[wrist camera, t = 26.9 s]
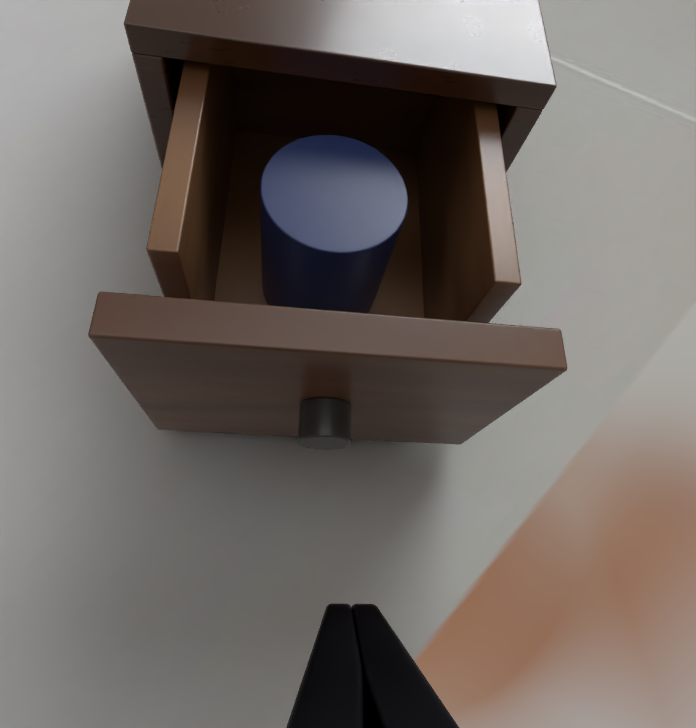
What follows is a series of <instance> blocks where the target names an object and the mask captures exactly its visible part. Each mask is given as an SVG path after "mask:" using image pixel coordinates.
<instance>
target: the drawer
mask: <svg viewBox="0 0 696 728" xmlns="http://www.w3.org/2000/svg"><path fill="white" fill-rule="evenodd" d="M314 135H337V136H343V137H348V138H352V139H355V140H358V141H361V142H363V143H365V144H367V145H369V146H371V147H373V148H375V149H376V150H378V151H379V152H381V153H382V154H383V155H384V156H386V157H387V158H388V159H389V160H390V161H391V162H392V163H393V164H394V166H395V167H396V168H397V170H398V171H399V172H400V174H401V176H402V178H403V180H404V183H405V185H406V189H407V194H408V210H407V214H406V217H405V220H404V223H403V225H402V228H401V230H400V233H399V236H398V238H397V241H396V244H395V246H394V249H393V252H392V254H391V257H390V259H389V262H388V265H387V267H386V270H385V273H384V275H383V278H382V281H381V283H380V286H379V288H378V291H377V294H376V296H375V299H374V302H373V304H372V306H371V308H370V310H369V312H368V313H357V312H345V311H333V310H320V309H308V308H296V307H283V306H271V305H268V304H267V302H266V299H265V297H264V293H263V288H262V256H261V210H260V182H261V177H262V173H263V171H264V169H265V166H266V165H267V163H268V162H269V160H270V159H271V157H272V156H273V155H274V154H275V153H276V152H277V151H278V150H280V149H281V148H282V147H284V146H285V145H287V144H289V143H291V142H293V141H295V140H298V139H301V138H304V137H309V136H314ZM146 249H147V252H148V255H149V258H150V260H151V263H152V266H153V268H154V271H155V274H156V277H157V279H158V282H159V285H160V287H161V290H162V293H163V295H164V297H161V296H149V295H136V294H124V293H112V292H99V293H98V296H97V300H96V304H95V308H94V312H93V317H92V321H91V325H90V329H89V334H88V335H89V337H90V339H91V340H92V341H93V343H94V344H95V345H96V347H97V348H98V350H99V351H100V352H101V354H102V355H103V356H104V358H105V359H106V360H107V362H108V363H109V364H110V366H111V367H112V368H113V370H114V371H115V372H116V374H117V375H118V376H119V378H120V379H121V380H122V382H123V383H124V385H125V386H126V387H127V389H128V390H129V391H130V393H131V394H132V395H133V397H134V398H135V399H136V401H137V402H138V403H139V405H140V406H141V407H142V409H143V410H144V411H145V413H146V414H147V415H148V417H149V418H150V420H151V421H152V422H153V424H154V425H155V426H156V428H157V429H162V430H182V431H202V432H223V433H243V434H263V435H283V436H298V443H299V444H300V445H302V446H305V447H308V448H314V449H339V448H343V447H347V446H349V445H350V443H351V439H364V440H384V441H404V442H424V443H444V444H462V443H463V442H465V441H466V440H467V439H469V438H470V437H472V436H473V435H475V434H476V433H477V432H479V431H480V430H482V429H483V428H485V427H486V426H487V425H489V424H490V423H492V422H493V421H495V420H496V419H497V418H499V417H500V416H502V415H503V414H505V413H506V412H507V411H509V410H510V409H512V408H513V407H515V406H516V405H518V404H519V403H520V402H522V401H523V400H525V399H526V398H528V397H529V396H530V395H532V394H533V393H535V392H536V391H538V390H539V389H540V388H542V387H543V386H545V385H546V384H548V383H549V382H550V381H552V380H553V379H555V378H556V377H558V376H559V375H561V374H562V373H563V372H565V371H566V370H567V363H566V357H565V351H564V345H563V339H562V333H561V330H560V329H553V328H541V327H529V326H516V325H504V324H492V323H489V321H490V320H491V319H492V318H493V317H494V316H495V314H496V313H497V312H498V311H499V310H500V309H501V307H502V306H503V305H504V304H505V303H506V302H507V300H508V299H509V298H510V297H511V296H512V295H513V293H514V292H515V291H516V290H517V289H518V288H519V287H520V285H521V277H520V270H519V263H518V256H517V248H516V241H515V234H514V227H513V220H512V213H511V206H510V199H509V192H508V184H507V177H506V170H505V163H504V156H503V149H502V142H501V135H500V127H499V120H498V113H497V106H496V103H489V102H482V101H474V100H467V99H460V98H453V97H446V96H439V95H431V94H424V93H417V92H410V91H403V90H395V89H388V88H381V87H374V86H367V85H360V84H352V83H345V82H338V81H331V80H324V79H316V78H309V77H302V76H295V75H288V74H281V73H273V72H266V71H259V70H252V69H245V68H237V67H230V66H223V65H216V64H209V63H202V62H194V61H187V60H184V65H183V70H182V75H181V80H180V85H179V90H178V95H177V100H176V105H175V110H174V115H173V120H172V125H171V130H170V135H169V140H168V144H167V149H166V154H165V159H164V164H163V169H162V174H161V179H160V184H159V189H158V194H157V199H156V204H155V209H154V214H153V219H152V224H151V228H150V233H149V238H148V243H147V248H146Z"/></svg>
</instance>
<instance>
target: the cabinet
mask: <svg viewBox="0 0 696 728" xmlns="http://www.w3.org/2000/svg"><path fill="white" fill-rule="evenodd" d="M124 26H125V30H126V34H127V38H128V42H129V45H130V49H131V52H132V56H133V60H134V63H135V67H136V71H137V75H138V79H139V83H140V87H141V90H142V94H143V98H144V102H145V106H146V110H147V113H148V117H149V121H150V125H151V129H152V133H153V137H154V140H155V144H156V148H157V152H158V156H159V160H160V163H161V167H162V169H163V164H164V159H165V154H166V149H167V144H168V140H169V135H170V130H171V125H172V120H173V115H174V110H175V105H176V100H177V95H178V90H179V85H180V80H181V75H182V70H183V65H184V60H187V61H194V62H202V63H209V64H216V65H223V66H230V67H237V68H245V69H252V70H259V71H266V72H273V73H281V74H288V75H295V76H302V77H309V78H316V79H324V80H331V81H338V82H345V83H352V84H360V85H367V86H374V87H381V88H388V89H395V90H403V91H410V92H417V93H424V94H431V95H439V96H446V97H453V98H460V99H467V100H474V101H482V102H489V103H496V106H497V113H498V120H499V127H500V135H501V142H502V149H503V156H504V163H505V170H506V172H507V170H508V169H509V167H510V165H511V164H512V162H513V160H514V158H515V157H516V155H517V153H518V152H519V150H520V148H521V147H522V145H523V143H524V141H525V140H526V138H527V136H528V135H529V133H530V131H531V129H532V128H533V126H534V124H535V123H536V121H537V119H538V117H539V116H540V114H541V112H542V110H543V109H544V107H545V106H546V104H547V102H548V100H549V99H550V97H551V95H552V94H553V92H554V90H555V88H556V81H555V76H554V71H553V67H552V62H551V57H550V52H549V47H548V43H547V38H546V33H545V28H544V24H543V19H542V14H541V9H540V4H539V0H130V3H129V7H128V10H127V14H126V17H125V21H124Z"/></svg>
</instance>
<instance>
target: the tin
mask: <svg viewBox="0 0 696 728" xmlns="http://www.w3.org/2000/svg"><path fill="white" fill-rule="evenodd" d="M260 210H261V256H262V288H263V293H264V297H265V299H266V302H267V304H268V305H271V306H283V307H296V308H308V309H320V310H333V311H345V312H357V313H368V312H369V310H370V308H371V306H372V304H373V302H374V299H375V296H376V294H377V291H378V288H379V286H380V283H381V281H382V278H383V275H384V273H385V270H386V267H387V265H388V262H389V259H390V257H391V254H392V252H393V249H394V246H395V244H396V241H397V238H398V236H399V233H400V230H401V228H402V225H403V223H404V220H405V217H406V214H407V210H408V194H407V189H406V185H405V183H404V180H403V178H402V176H401V174H400V172H399V171H398V170H397V168H396V167H395V166H394V164H393V163H392V162H391V161H390V160H389V159H388V158H387V157H386V156H384V155H383V154H382V153H381V152H379V151H378V150H376V149H375V148H373V147H371V146H369V145H367V144H365V143H363V142H361V141H358V140H355V139H352V138H348V137H343V136H337V135H314V136H309V137H304V138H301V139H298V140H295V141H293V142H291V143H289V144H287V145H285V146H284V147H282V148H281V149H280V150H278V151H277V152H276V153H275V154H274V155H273V156H272V157H271V159H270V160H269V162H268V163H267V165H266V166H265V169H264V171H263V173H262V177H261V182H260Z"/></svg>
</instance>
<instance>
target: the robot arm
mask: <svg viewBox="0 0 696 728" xmlns="http://www.w3.org/2000/svg"><path fill="white" fill-rule="evenodd" d="M286 728H459V727H458V725H457V724H456V722H455V721H454V719H453V718H452V716H451V715H450V714H449V712H448V711H447V709H446V708H445V706H444V705H443V703H442V702H441V700H440V699H439V697H438V696H437V694H436V693H435V691H434V690H433V688H432V687H431V685H430V684H429V683H428V681H427V680H426V678H425V677H424V675H423V674H422V672H421V671H420V669H419V668H418V666H417V665H416V663H415V662H414V660H413V659H412V657H411V656H410V654H409V653H408V651H407V650H406V649H405V647H404V646H403V644H402V643H401V641H400V640H399V638H398V637H397V635H396V634H395V632H394V631H393V629H392V628H391V626H390V625H389V623H388V622H387V620H386V619H385V618H384V616H383V615H382V613H381V612H380V610H379V609H378V607H377V606H376V605H374V604H354V605H352V607H351V606H350V605H349V604H329V605H328V606H327V607H326V610H325V613H324V616H323V619H322V622H321V625H320V628H319V631H318V634H317V637H316V640H315V643H314V646H313V649H312V652H311V655H310V658H309V661H308V664H307V667H306V670H305V673H304V676H303V679H302V682H301V685H300V688H299V691H298V694H297V697H296V700H295V703H294V706H293V709H292V712H291V715H290V718H289V721H288V724H287V727H286Z"/></svg>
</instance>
